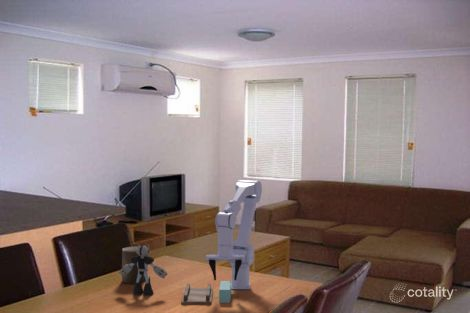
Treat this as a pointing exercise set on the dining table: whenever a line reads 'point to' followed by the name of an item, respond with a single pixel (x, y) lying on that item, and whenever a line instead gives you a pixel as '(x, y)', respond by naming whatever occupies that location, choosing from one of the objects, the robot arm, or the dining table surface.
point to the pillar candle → (126, 259)
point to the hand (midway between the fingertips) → (225, 279)
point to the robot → (143, 270)
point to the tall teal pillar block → (225, 292)
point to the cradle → (197, 295)
